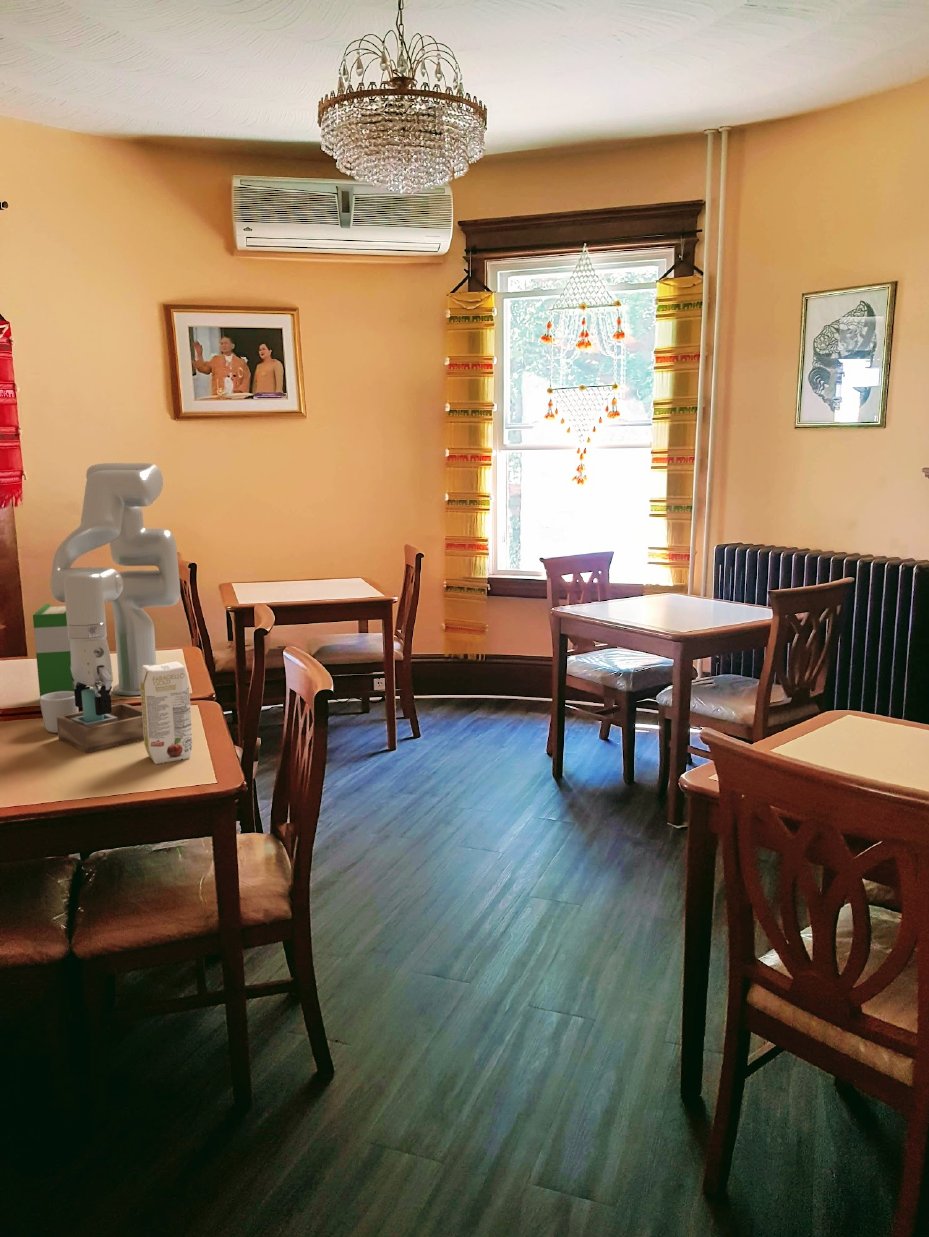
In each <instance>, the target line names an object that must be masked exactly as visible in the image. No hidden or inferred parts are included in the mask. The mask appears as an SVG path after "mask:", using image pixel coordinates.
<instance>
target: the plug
mask: <svg viewBox="0 0 929 1237" xmlns="http://www.w3.org/2000/svg"><path fill="white" fill-rule="evenodd" d="M99 690H100V688H99ZM81 692H82V705H83V706H82V711H83V717H84V722H86V723H89V722H94V721H99V720H103V719H104V715H99V716H98V715H96V711H95V698H94V697H97V696H96V694H95V691H94V689H93V687H90V689H85V690H83V691H81Z"/></svg>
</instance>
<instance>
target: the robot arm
mask: <svg viewBox="0 0 929 1237" xmlns="http://www.w3.org/2000/svg"><path fill="white" fill-rule="evenodd" d="M85 477H86V482H85V487H84V496H83V502H82V510H81V511H82V512H81V518H80V525H79V526H78V527H77V528H76V529H74V530H73V531H72V532H71V533H69V534H68V535H67V536H66V538H65V539H64V540H63V541H61V543H60V544H59V546H58V547H57V549H56V550H55V553H54V555H53V558H52V563H51V564H52V565H51V572H50V580H49V582H50V583H49V586H50V593H51V596H52V597H53V598H54V599H55V600H56V601H57V602H61V603H64V604H65V605H64V606H66V618H67V629H68V640H71V666H70V669H71V672H72V679H73V681H74V683H73V687H74V695H75V706H76V707H79V708H80V707H83V705H82V692H81V691H83V690H85V689H91V688H93V689H94V691H95V694H96V696H97V697H94V698H95V711H96V715H98V716H99V715H104V714H109V713H111V712H112V708H111V705H112V697H111V696H112V693H114V694H115V695H120V696H141V688H140V677H141V669H142V666H143V665H157V658H156V655H157V654H156V653H157V652H156V641H155V640H156V639H155V625H154V622H153V619H152V618H151V617H150V615H149V614H148V613H147V612H146V611H145V609H144V608H159V607H160V608H161V607H162V608H163V607H172V606H175V605H177V604H178V603H179V600H180V598H181V581H180V573H179V571H180V570H179V558H178V557H179V556H178V548H177V542H176V538H175V536H174V534H173V533H172V532H171V531H170V530H168V529H166V528H146V527H145V525H144V524H145V523H144V516H143V507H148V506H150V505H151V506H152V504H153V503H154V502H155V501H156V500H157V499H158V498H159V496H160V495H161V493H162V490H163V488H164V487H163V486H164V480H163V479H164V478H163V474H162V471H161V470H160V468H159V466H158V465H156V464H154V463H149V462H148V463H144V462H143V463H142V462H141V463H138V462H135V463H133V462H132V463H129V462H128V463H125V462H110V463H109V462H105V463H97V464H93V465H91V466H89V467H88V468H87V470H86V474H85ZM107 544H109V548H110V554H111V559H112V561H113V563H115V564H116V565H118V566H123V567H148V566H149V567H153V566H154V567H157V570H156V569H155V570H153V569H152V570H151V569H150V570H148V569H147V570H145V569H139V570H138V569H137V570H122V571H117V569H114V568H112V567H104V566H103V567H90V566H89V567H72V565H73V564H74V562H75V561H76V560H78V559H79V558H80V557H81V556H83V555H85V554H87V553H88V552H92V551H93V550H96V549H98V548H101V547H103V546H105V545H107ZM105 603H111V604H110V605H111V608H112V613H113V622H114V633H115V634H114V636H115V648H116V662H117V664H116V665H117V675H118V684H116V685H114V686H113V685H112V683H113V682H114V676H113V666H112V659H111V652H110V648H109V643H108V640H107V637H108V633H107V621H106V617H107V616H106V607H105V605H106V604H105ZM75 688H76V689H75ZM99 689H100V690H99Z"/></svg>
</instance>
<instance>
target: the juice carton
mask: <svg viewBox="0 0 929 1237" xmlns="http://www.w3.org/2000/svg"><path fill="white" fill-rule="evenodd" d="M140 688H141V695H140V700H141V710H142V717H143V732H144V739H143V743H144V747H145V750H146V752H147V755H148V757H149V758H150V759H151V761H152V762H153V763H154V764H156V765H160V764H164V763H165V762H166V763H170V762H175V761H181V759H183V760H187V759H190V758H191V754H192V749H193V732H192V731H193V730H192V728H193V726H192V715H191V714H192V711H191V698H190V696H191V694H190V680H189V675H188V672H187V669H186V667H185V665H183V664H182V663H180V662H179V661H172V662H166V663H162V664H156V665H143V666H142V669H141V677H140Z"/></svg>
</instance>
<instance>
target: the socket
mask: <svg viewBox="0 0 929 1237" xmlns="http://www.w3.org/2000/svg"><path fill="white" fill-rule="evenodd" d="M71 720H72V721H74V722H77V723H79V724H81V725H83V726H86V727H93V726H97V725H102V724H107V723H111V722H116V721H118V718H117V717H115V716H112V715H110V714H104V719H103V720H99V721H94V722H89V723H86V722H84V717H83V716H79V717H74V718H71Z"/></svg>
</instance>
